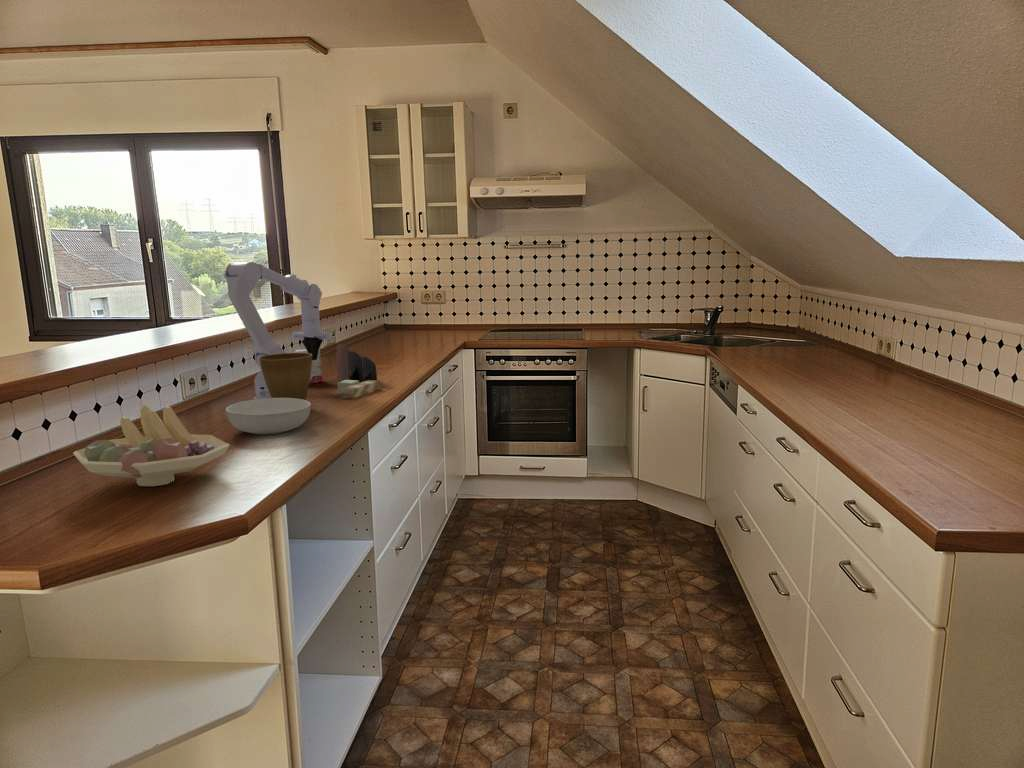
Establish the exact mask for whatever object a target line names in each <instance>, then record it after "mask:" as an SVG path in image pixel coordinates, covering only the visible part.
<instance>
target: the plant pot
mask: <svg viewBox="0 0 1024 768" xmlns="http://www.w3.org/2000/svg"><path fill="white" fill-rule="evenodd" d="M259 360H260V365H261V368H262V372H263V376H264V379H265V382H266V385H267V388H268V390H269V393H270V395H271V398H296V399H303V400H306V399H307V396H308V391H309V388H310V387H309V386H310V383H309V382H310V376H311V367H312V354H310V353H294V352H289V353H288V352H286V353H283V354H273V355H267V356H262V357H260V358H259Z"/></svg>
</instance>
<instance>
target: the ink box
mask: <svg viewBox="0 0 1024 768" xmlns="http://www.w3.org/2000/svg"><path fill="white" fill-rule="evenodd" d="M293 353H308V352H307V350H306V349H296V350H294V352H293ZM321 357H322V356H321V349H320V348H319V351H318V356H317V360H312V367H311V376H310V382H309V384H319V383H318V382H322V383H323V371H322V369H323V368H322V359H321Z"/></svg>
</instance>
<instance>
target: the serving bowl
mask: <svg viewBox="0 0 1024 768" xmlns="http://www.w3.org/2000/svg"><path fill="white" fill-rule="evenodd" d="M311 406H312V403H311V402H310V401H308V400H303V399H296V398H264V399H250V400H244V401H240V402H236V403H233V404H230V405H229V406H227V407H226V408H225V413H226V416H227V420H228V421H229V422H230V424H231V425H232V426H233V427H234V428H235V429H237V430H239V431H241V432H244V433H249V434H255V435H258V434H260V435H259V436H267V435H269V434H272V435H278V433H279V434H282V432H283V433H285V431H286V432H288V431H290V430H294V429H296V428H298V427H299V426H301V425H303V424H304V423H305V422H306V421H307V420H308V417H309V416H310V412H311V410H312V407H311ZM269 436H270V435H269Z"/></svg>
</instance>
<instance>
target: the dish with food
mask: <svg viewBox="0 0 1024 768" xmlns="http://www.w3.org/2000/svg"><path fill="white" fill-rule="evenodd" d="M139 412H140V423H141V427H142V431H143V433H144V435H142V433H141V432H140V430H139V429H138V427H137V426H136V425H135V423H133V422H132V421H131V419H130V418H129V417H127V416H122V417H121V419H120V422H119V423H120V426H121V431H122V433H123V435H124V437H123V438H115V439H113V438H112V439H108V440H107V439H98V440H95V441H93V442H91V443H90V444H87V446H85V447H84V448H80V449H78V450H75V451H74V452H72V454H73V455H74V456H75V457H76V459H77V460H78V461H79V462H80V464H81V465H83V466H84V468H85V469H87V471H88V472H89V473H92V474H97V475H100V476H105V477H111V478H112V477H115V478H118V477H119V478H136V484H137V485H138V486H140V487H156V486H163V485H168V484H170V482H171V483H173V482H175V481H174V480H175V474H180V473H185V472H186V473H187V472H190V471H192V470H194V469H196V468H199V467H201V466H203V465H205V464H206V463H209V462H211V461H213V460H216V458H219V457H220V456H221V457H222V456H224V455H225V454H226V452H227V451H228V449H229V448H230V446H231V444H229V443H227V442H225V441H224V440H222V439H219V438H217V437H215V436H214V435H212V434H194V433H193V434H191V433H189V432H188V430H187V429H186V427H185V426H184V425H183V423H182V421H181V420H180V418H178V416H177V414H176V413H175V411H174V409H173V408H172V407H171V406H168V405H166V406H165V408H163V410H162V416H163V417H162V419H163V420H162V419H161V418H160V416H159V415H158V413H157V412H155V411H153V410H151V409H150V407H149V406H147V405H146V404H143V406H142V407H141V408H140V411H139ZM172 481H173V482H172Z"/></svg>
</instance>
